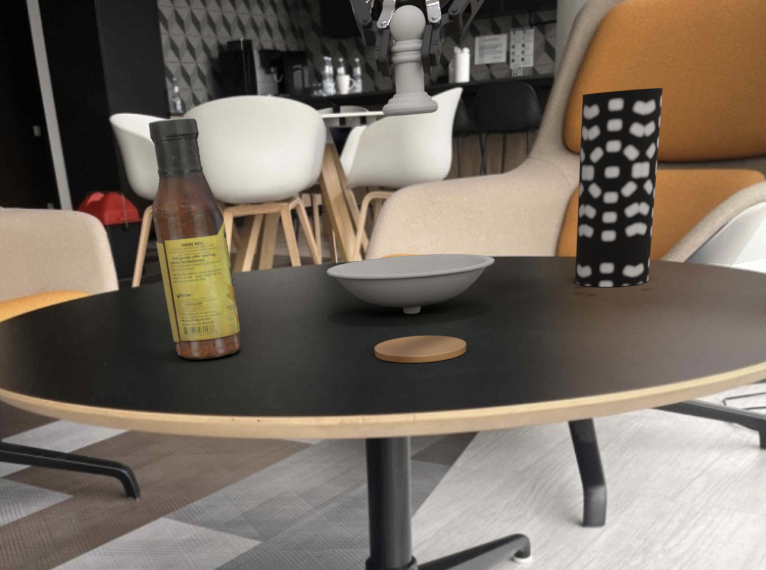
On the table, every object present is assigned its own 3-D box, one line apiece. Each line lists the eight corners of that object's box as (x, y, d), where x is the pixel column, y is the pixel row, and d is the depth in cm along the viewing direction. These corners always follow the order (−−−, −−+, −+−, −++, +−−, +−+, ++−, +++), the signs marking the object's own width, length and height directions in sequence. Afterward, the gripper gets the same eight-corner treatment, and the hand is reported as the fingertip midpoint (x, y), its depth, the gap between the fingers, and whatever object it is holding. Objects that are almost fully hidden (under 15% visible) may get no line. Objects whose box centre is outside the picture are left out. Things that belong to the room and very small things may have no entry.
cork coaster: (475, 342, 78) (475, 335, 78) (454, 364, 72) (453, 356, 71) (390, 341, 81) (390, 335, 81) (362, 362, 74) (361, 355, 74)
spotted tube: (652, 275, 105) (666, 88, 96) (643, 286, 98) (658, 87, 90) (582, 275, 108) (589, 95, 100) (568, 287, 101) (576, 94, 93)
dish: (337, 332, 86) (334, 280, 84) (324, 308, 99) (320, 262, 97) (511, 317, 88) (511, 265, 86) (475, 294, 101) (475, 249, 99)
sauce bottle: (256, 351, 81) (229, 114, 73) (202, 365, 77) (168, 117, 69) (213, 343, 86) (183, 120, 77) (160, 357, 82) (123, 123, 73)
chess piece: (447, 111, 82) (445, 0, 78) (395, 115, 81) (390, 2, 77) (424, 113, 87) (420, 8, 83) (374, 117, 85) (368, 11, 81)
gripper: (347, -96, 84) (321, 40, 79) (494, -117, 80) (478, 23, 75) (364, -24, 91) (341, 106, 86) (500, -41, 87) (485, 94, 82)
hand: (405, 66), depth 80 cm, fingers closed on chess piece, 3 cm apart
